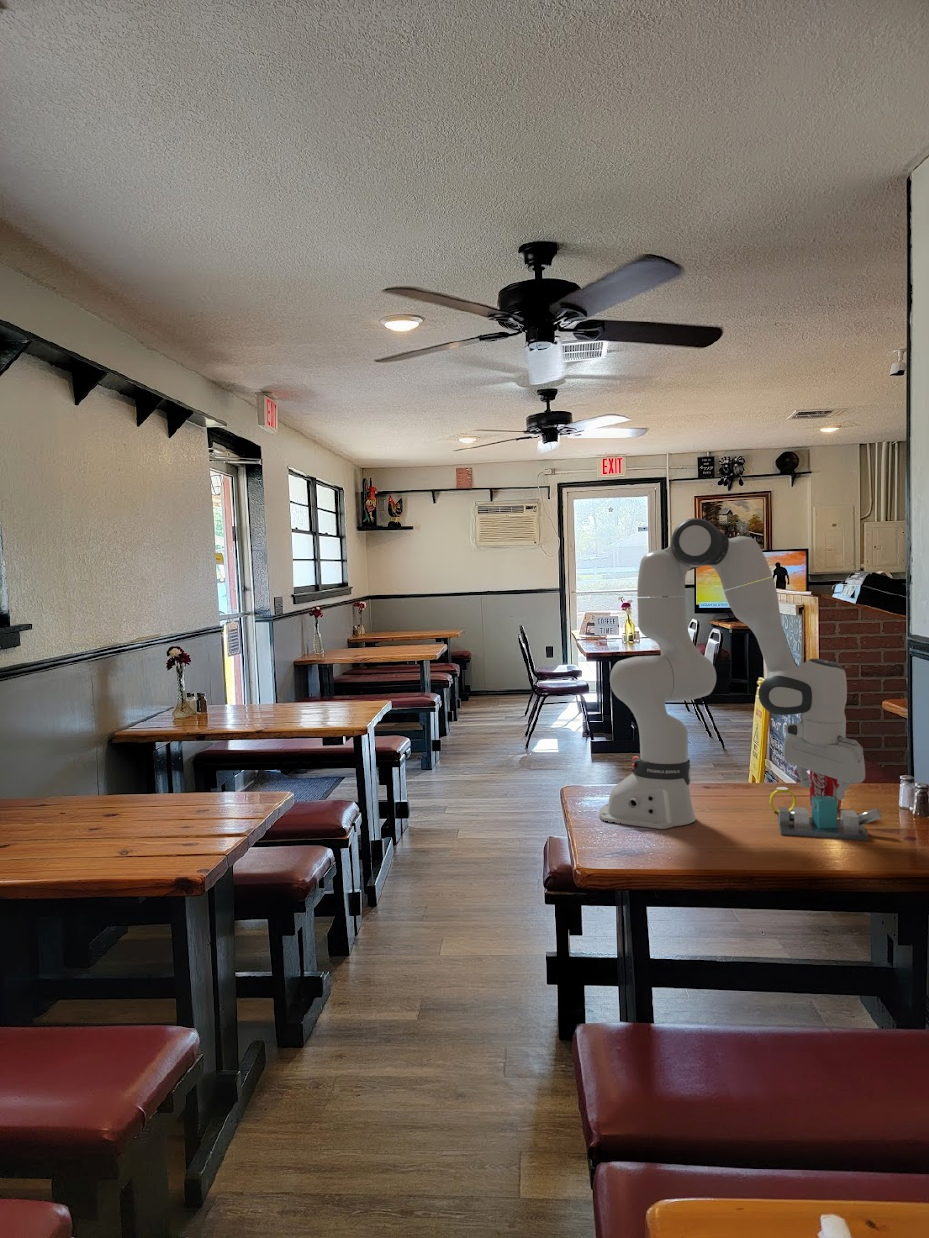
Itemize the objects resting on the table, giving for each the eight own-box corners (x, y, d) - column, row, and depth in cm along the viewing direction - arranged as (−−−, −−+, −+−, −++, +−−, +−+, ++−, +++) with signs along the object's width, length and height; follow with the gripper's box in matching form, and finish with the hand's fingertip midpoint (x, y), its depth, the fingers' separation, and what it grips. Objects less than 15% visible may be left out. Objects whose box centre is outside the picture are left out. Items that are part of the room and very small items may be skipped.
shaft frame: (780, 834, 177) (780, 808, 176) (777, 820, 187) (777, 795, 187) (886, 842, 170) (886, 815, 170) (877, 827, 180) (877, 801, 180)
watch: (772, 814, 193) (770, 790, 192) (769, 811, 195) (767, 787, 195) (798, 813, 192) (796, 788, 192) (794, 810, 195) (792, 785, 195)
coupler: (818, 827, 177) (818, 801, 177) (811, 822, 181) (811, 796, 181) (837, 827, 177) (837, 800, 177) (829, 822, 181) (829, 796, 180)
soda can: (844, 813, 191) (844, 764, 191) (813, 812, 193) (813, 763, 192) (837, 805, 198) (837, 757, 198) (806, 804, 199) (806, 757, 199)
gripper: (873, 740, 170) (871, 804, 171) (800, 721, 188) (798, 779, 190) (851, 743, 167) (849, 807, 168) (779, 724, 186) (777, 782, 187)
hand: (821, 792), depth 179 cm, fingers open, 8 cm apart
